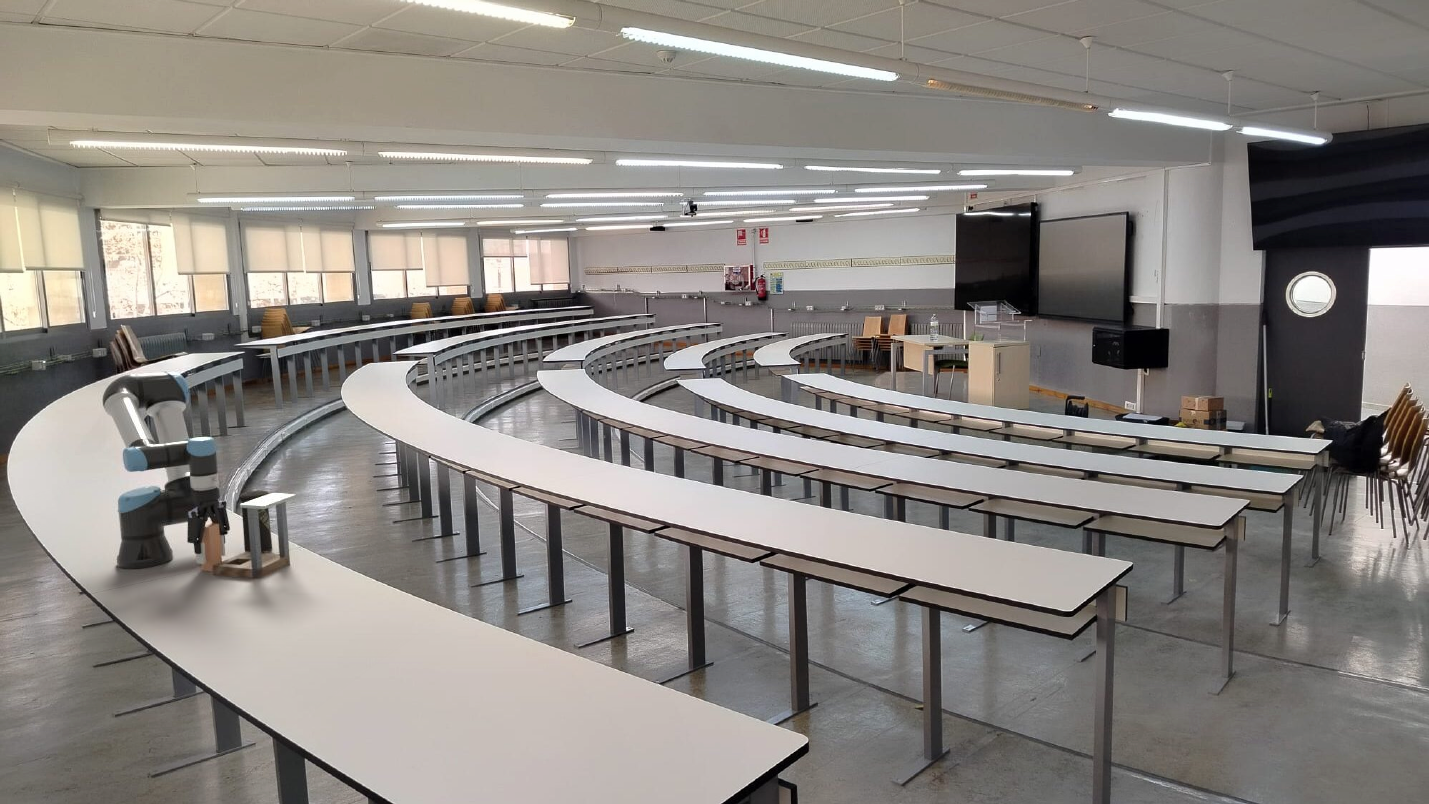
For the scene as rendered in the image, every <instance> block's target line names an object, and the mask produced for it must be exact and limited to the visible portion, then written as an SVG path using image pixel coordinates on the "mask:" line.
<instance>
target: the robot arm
mask: <svg viewBox="0 0 1429 804" xmlns="http://www.w3.org/2000/svg"><path fill="white" fill-rule="evenodd" d="M189 390H190V389H189V386H188V384H187V381H186V379H185V378H184V376H183V375H182V374H180V373H179V372H178V371H162V372H150V373H149V372H148V373H137V374H135V373H133V374H125V375H122V376H120V377H118V378H116V379H114V380H113V381H111V383H110V384H108V386H107V387H106V388H105V390H104V392H103V394H102V405H103V406H102V407H103V409H104V411H105V412H106V414H107V415H109V416H110V417H111V418H112V420H113V422H114V424H115V426H116V428H117V431H118V433H119V434H120V437H121V439H122V440H123V443H124V446H125V448H124V449H123V450H122V461H123V462H122V463H123V464H124V465H123V466H124V469H125V470H126V471H127V472H129V473H132V472H133V473H134V472H145V471H151V470H157V469H165V472H166V477H167V481H166V483H165V484H164V486H163V488H164V489H161V488H160V486H158V485H151V486H143V487H139V488H138V487H137V488H135V489H131V490H129V491H127V492H126V491H125V492H124V493H122V494H121V495H120V496H119V497H118V499H117V512H118V518H119V519H118V522H119V528H120V539H121V542H120V544H119V545H120V546H119V552H118V555H117V557H116V566H117V567H118V568H121V569H129V570H130V569H132V570H133V569H143V568H150V567H154V566H159V565H162V564H165V563H168V562H170V561H171V560H173V558H174V552H173V549H172V548H171V545H170V543H169V541H168V539H167V537H166V535H165V527H168V526H173V525H180V524H184V523H187V540H186V541H187V543H189V544H193V550H194V555H195V559H196V564H200V565H201V564H205V563H206V556H205V545H204V543H202V539H203V534H204V529H205V524H207V522H208V519H209V518H210V521H211V523H214V524H219V533H220V544H221V556H222V557H224V556H226V546H225V544H226V535H228V534H229V531H230V530H231V526H230V523H229V522H230V521H229V515H228V510H227V501H225V500H219V499H220V497H221V495H220V493H221V492H220V487H219V484H220V483H219V472H218V457H217V446H216V441H215V439H214V437H210V436H200V437H193V438H189V434H188V430H187V425H186V421H185V418H184V413H183V412H184V411H185V410H186V408H187V405H188V404H189V402H190V398H191V397H190V393H189ZM140 409H142V410H143V409H145V411H146V415H148V416H149V417H152V418H153V422H154V427H155V429H156V435H157V439H158V443H156V442H155V439H154V437H153V436H152V433H151V431H150V429H149V427H148V425H147V424H146V421H145V418H144V417H143V415H142V413H141V410H140Z"/></svg>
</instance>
